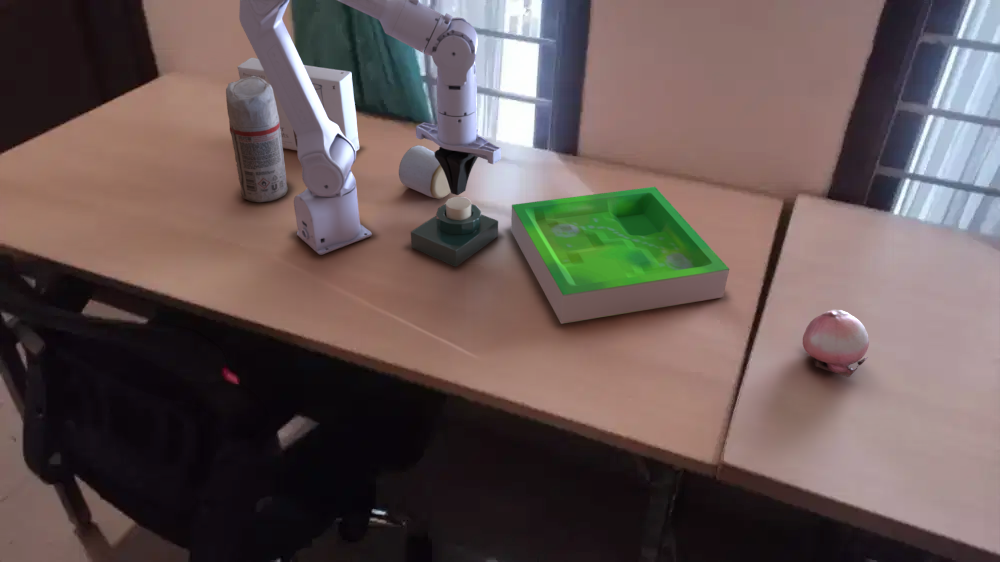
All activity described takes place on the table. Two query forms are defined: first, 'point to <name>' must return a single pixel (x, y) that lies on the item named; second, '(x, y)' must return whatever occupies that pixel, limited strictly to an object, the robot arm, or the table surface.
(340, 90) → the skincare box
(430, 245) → the dark green button base
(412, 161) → the ceramic mug
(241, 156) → the spray can
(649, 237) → the tray
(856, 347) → the onion
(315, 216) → the robot arm
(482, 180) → the table surface
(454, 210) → the white push button
